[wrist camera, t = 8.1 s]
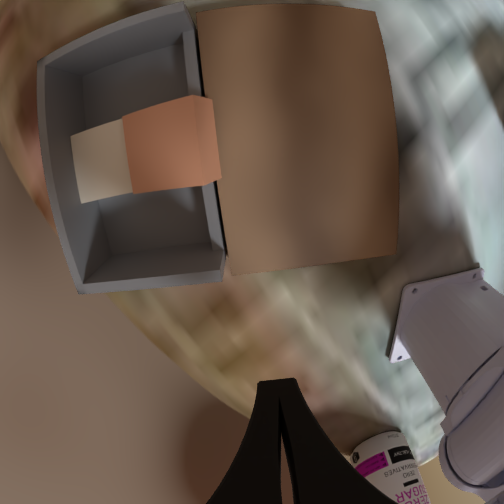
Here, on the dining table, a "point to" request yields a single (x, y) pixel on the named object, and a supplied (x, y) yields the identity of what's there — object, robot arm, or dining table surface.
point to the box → (132, 205)
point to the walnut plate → (301, 134)
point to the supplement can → (390, 468)
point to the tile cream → (101, 162)
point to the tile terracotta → (172, 145)
